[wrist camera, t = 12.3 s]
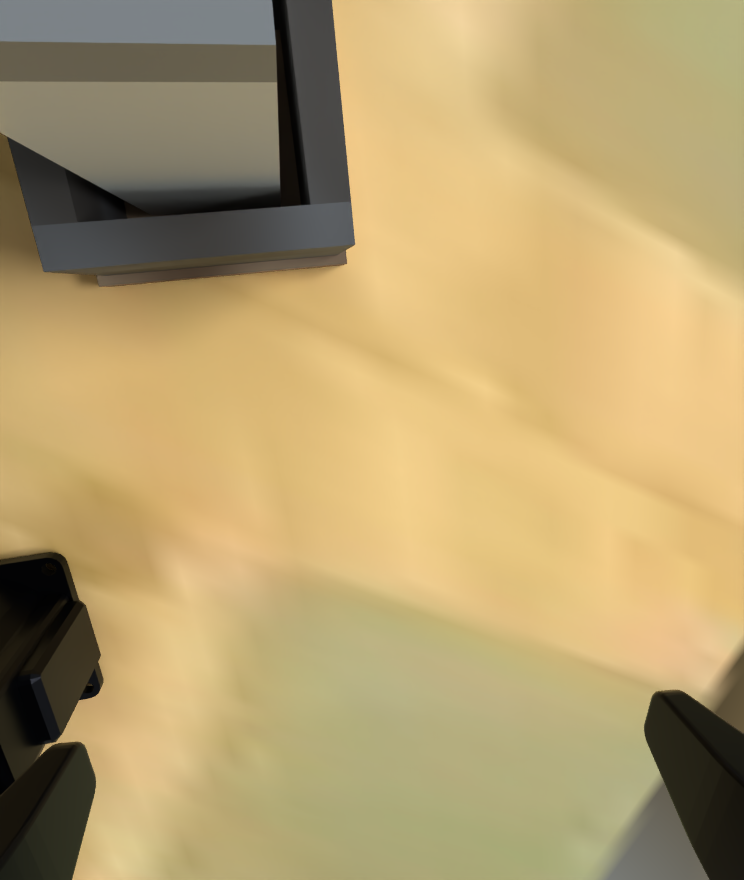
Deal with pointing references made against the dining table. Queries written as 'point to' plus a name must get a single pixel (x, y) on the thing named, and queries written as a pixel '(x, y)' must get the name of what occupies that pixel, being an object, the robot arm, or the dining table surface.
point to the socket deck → (227, 232)
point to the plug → (148, 97)
